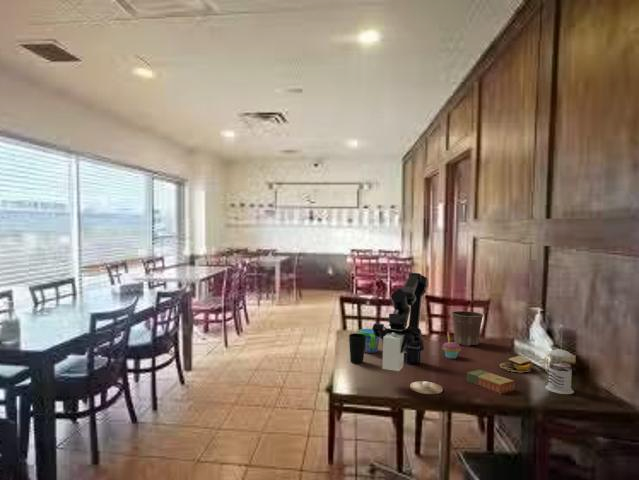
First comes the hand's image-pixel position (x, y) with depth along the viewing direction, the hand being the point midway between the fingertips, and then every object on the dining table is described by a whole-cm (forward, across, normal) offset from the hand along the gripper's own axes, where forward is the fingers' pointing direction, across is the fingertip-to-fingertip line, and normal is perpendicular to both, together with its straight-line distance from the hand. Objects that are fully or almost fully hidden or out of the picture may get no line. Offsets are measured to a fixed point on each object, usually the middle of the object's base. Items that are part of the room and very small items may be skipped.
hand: (392, 351), depth 170 cm
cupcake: (-28, +14, +48) cm, 57 cm away
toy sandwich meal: (-24, +42, +45) cm, 66 cm away
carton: (-4, +34, +24) cm, 41 cm away
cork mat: (+6, +12, +13) cm, 19 cm away
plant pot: (-50, +17, +70) cm, 88 cm away
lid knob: (+6, +12, +12) cm, 18 cm away
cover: (+4, 0, +6) cm, 7 cm away
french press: (-11, +57, +30) cm, 66 cm away
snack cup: (-21, -23, +40) cm, 51 cm away
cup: (-7, -22, +26) cm, 35 cm away
